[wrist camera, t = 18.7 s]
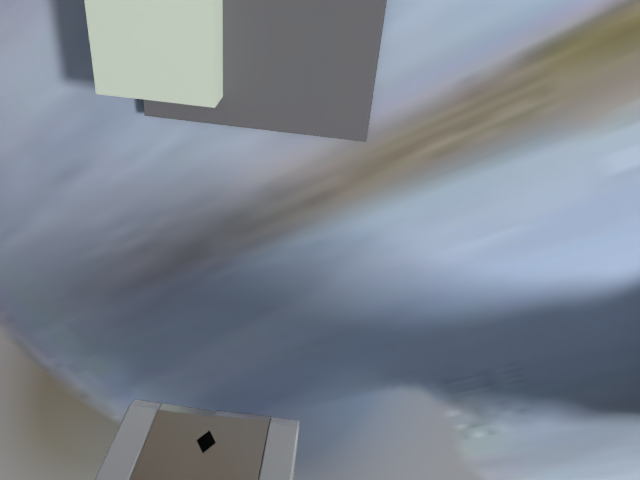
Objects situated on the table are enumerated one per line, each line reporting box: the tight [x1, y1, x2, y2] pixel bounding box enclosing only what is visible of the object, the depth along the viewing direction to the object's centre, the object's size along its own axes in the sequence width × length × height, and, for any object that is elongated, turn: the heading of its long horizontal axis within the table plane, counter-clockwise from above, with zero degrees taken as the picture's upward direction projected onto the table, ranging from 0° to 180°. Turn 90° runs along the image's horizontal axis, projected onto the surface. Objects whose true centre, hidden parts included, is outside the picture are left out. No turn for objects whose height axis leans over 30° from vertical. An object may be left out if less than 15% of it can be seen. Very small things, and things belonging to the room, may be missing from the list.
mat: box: [143, 0, 387, 142], centre depth 33 cm, size 14×10×1 cm
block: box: [84, 0, 223, 108], centre depth 32 cm, size 2×6×7 cm
